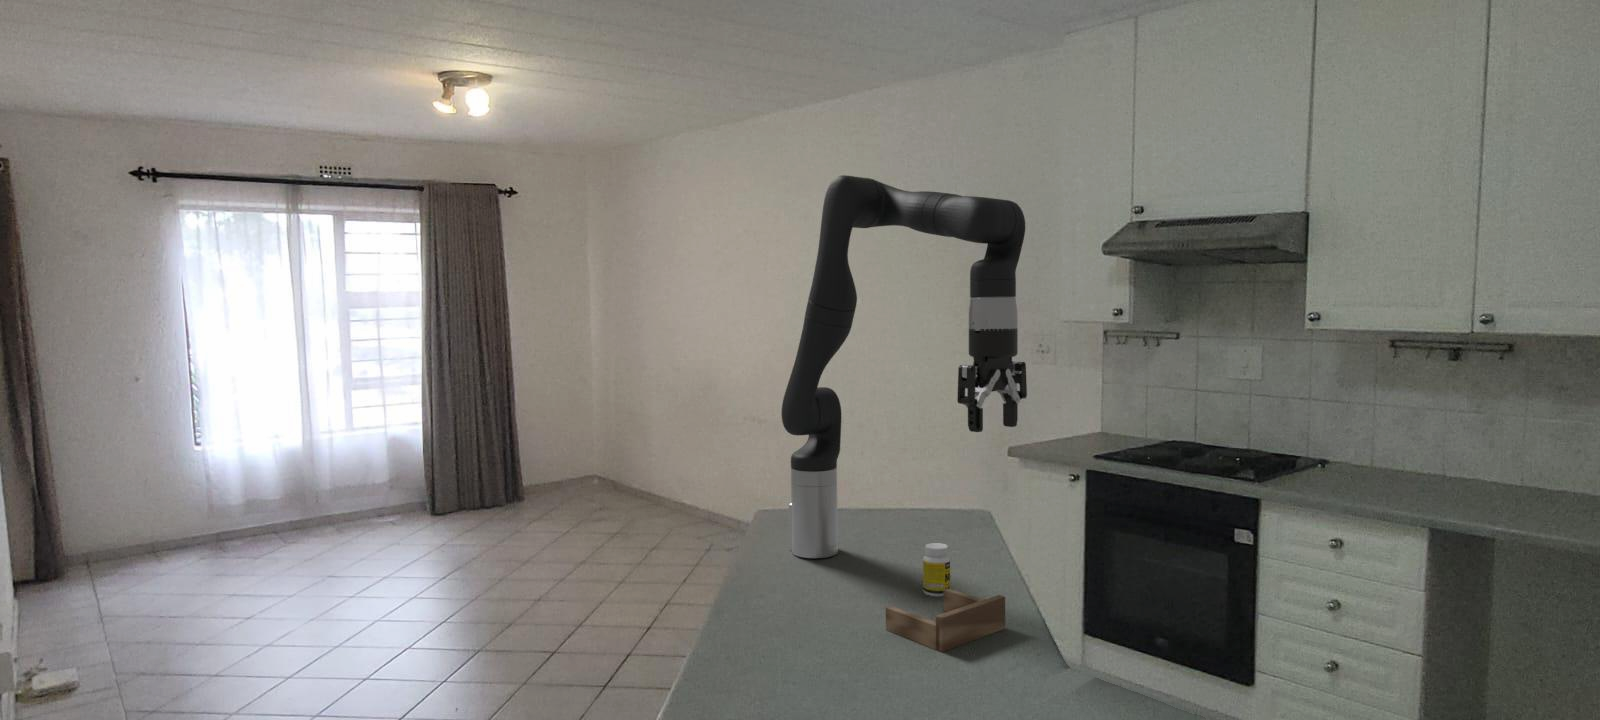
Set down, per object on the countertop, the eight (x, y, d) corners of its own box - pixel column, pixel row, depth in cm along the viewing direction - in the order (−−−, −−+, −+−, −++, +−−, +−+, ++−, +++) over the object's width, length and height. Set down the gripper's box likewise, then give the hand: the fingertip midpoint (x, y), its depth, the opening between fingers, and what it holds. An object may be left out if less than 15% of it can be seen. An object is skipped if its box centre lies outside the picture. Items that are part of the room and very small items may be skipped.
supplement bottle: (950, 598, 146) (949, 550, 145) (922, 596, 147) (922, 548, 146) (950, 589, 150) (950, 542, 150) (923, 588, 151) (923, 541, 151)
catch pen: (885, 629, 131) (885, 598, 131) (948, 609, 140) (948, 579, 140) (942, 652, 122) (942, 618, 122) (1005, 628, 131) (1005, 596, 131)
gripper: (1001, 325, 140) (1002, 423, 141) (944, 327, 131) (944, 431, 132) (1040, 325, 135) (1040, 427, 135) (982, 327, 126) (983, 435, 126)
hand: (993, 429), depth 134 cm, fingers open, 8 cm apart
